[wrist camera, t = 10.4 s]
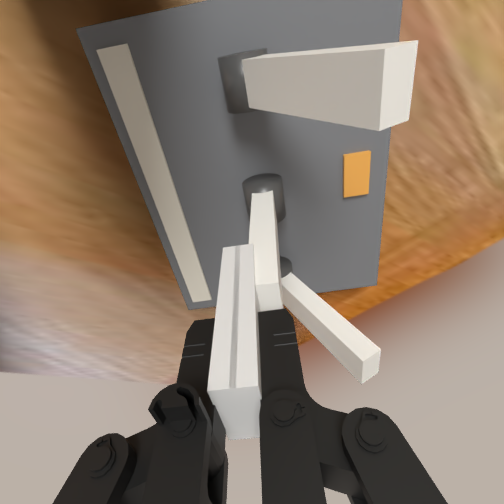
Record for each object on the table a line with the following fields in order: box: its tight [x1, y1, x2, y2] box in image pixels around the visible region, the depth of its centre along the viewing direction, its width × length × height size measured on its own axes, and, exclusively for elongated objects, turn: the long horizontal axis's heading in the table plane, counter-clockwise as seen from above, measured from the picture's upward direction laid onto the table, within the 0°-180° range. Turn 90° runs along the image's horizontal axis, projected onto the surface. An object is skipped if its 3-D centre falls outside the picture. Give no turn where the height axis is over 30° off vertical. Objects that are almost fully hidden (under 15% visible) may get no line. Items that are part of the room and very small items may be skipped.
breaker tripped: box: [242, 173, 286, 311], centre depth 16 cm, size 2×2×10 cm
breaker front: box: [217, 40, 418, 131], centre depth 12 cm, size 2×2×10 cm
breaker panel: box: [76, 0, 403, 310], centre depth 21 cm, size 16×20×3 cm
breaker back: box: [280, 256, 381, 384], centre depth 20 cm, size 2×2×10 cm
